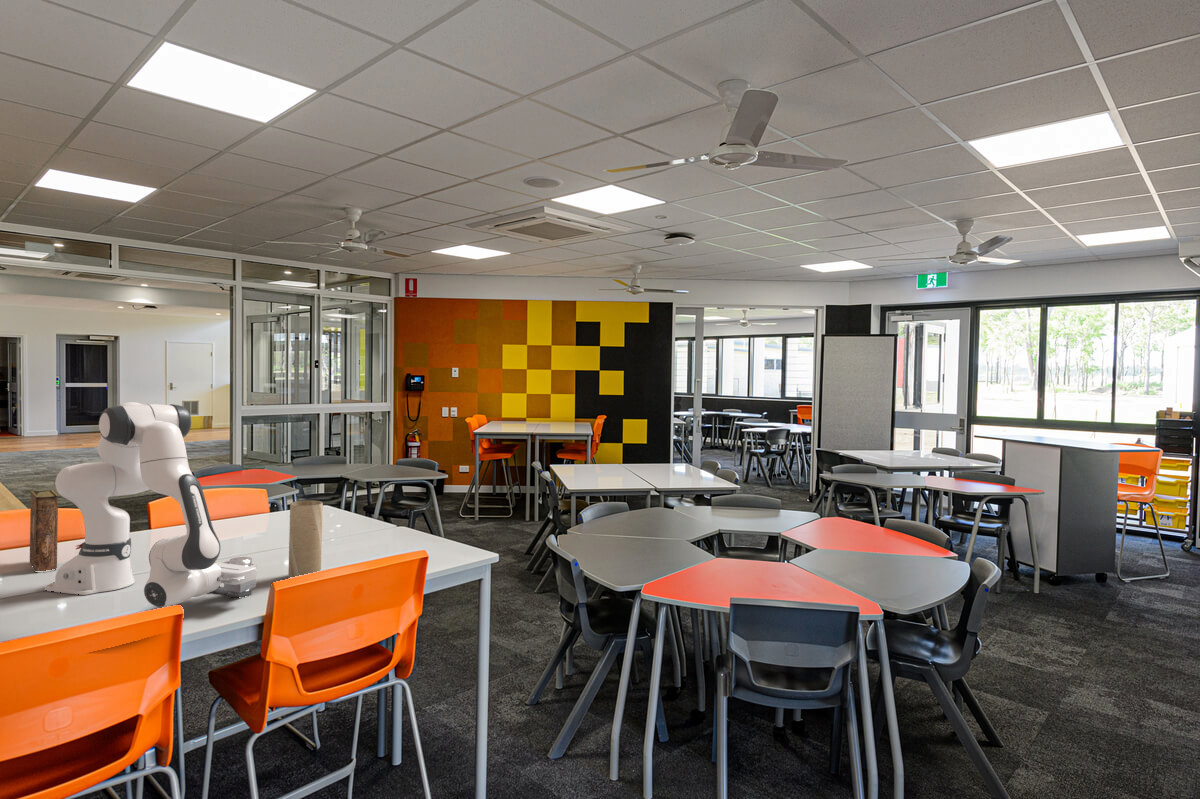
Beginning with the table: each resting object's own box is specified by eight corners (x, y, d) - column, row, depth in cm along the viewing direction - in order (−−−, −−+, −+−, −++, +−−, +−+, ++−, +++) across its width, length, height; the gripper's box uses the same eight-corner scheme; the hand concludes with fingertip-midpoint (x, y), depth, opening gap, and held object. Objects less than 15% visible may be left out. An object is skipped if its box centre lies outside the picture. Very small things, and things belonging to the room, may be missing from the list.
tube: (288, 582, 209) (290, 506, 208) (288, 573, 218) (290, 501, 217) (321, 579, 213) (323, 505, 213) (320, 571, 222) (322, 499, 222)
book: (57, 570, 213) (58, 496, 212) (35, 573, 209) (36, 497, 208) (50, 560, 224) (51, 489, 223) (29, 562, 220) (30, 490, 219)
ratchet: (188, 592, 196) (188, 576, 196) (205, 586, 202) (206, 570, 202) (240, 599, 192) (240, 583, 191) (256, 593, 198) (256, 577, 198)
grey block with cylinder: (223, 590, 193) (224, 561, 193) (239, 584, 199) (240, 556, 199) (240, 592, 192) (241, 563, 191) (255, 586, 197) (256, 558, 197)
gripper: (235, 570, 180) (271, 558, 193) (176, 563, 185) (215, 551, 198) (234, 592, 180) (270, 578, 194) (175, 584, 185) (215, 571, 198)
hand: (242, 565), depth 196 cm, fingers open, 8 cm apart
